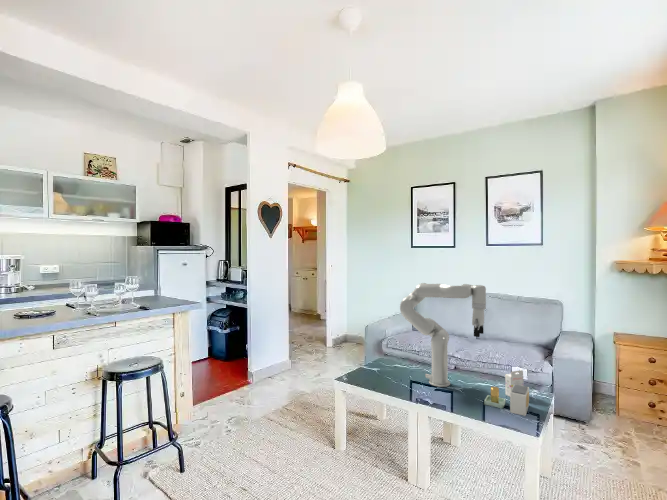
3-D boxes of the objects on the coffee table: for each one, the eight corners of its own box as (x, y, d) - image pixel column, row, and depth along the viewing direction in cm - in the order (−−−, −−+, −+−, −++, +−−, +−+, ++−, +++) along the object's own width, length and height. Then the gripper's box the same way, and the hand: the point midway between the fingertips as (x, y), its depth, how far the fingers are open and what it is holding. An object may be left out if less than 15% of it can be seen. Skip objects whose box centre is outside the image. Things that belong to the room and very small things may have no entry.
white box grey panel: (510, 412, 186) (510, 391, 186) (514, 402, 198) (514, 383, 198) (526, 416, 182) (526, 395, 182) (529, 406, 193) (529, 386, 193)
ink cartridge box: (517, 392, 211) (517, 367, 211) (523, 396, 206) (523, 370, 206) (504, 394, 209) (504, 368, 209) (511, 397, 204) (511, 371, 204)
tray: (484, 404, 195) (484, 400, 195) (487, 398, 203) (487, 395, 203) (502, 408, 190) (502, 404, 190) (505, 402, 198) (505, 398, 198)
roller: (490, 403, 196) (490, 388, 196) (491, 400, 199) (491, 385, 199) (498, 404, 194) (498, 389, 194) (499, 402, 197) (499, 387, 197)
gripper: (475, 303, 225) (475, 331, 225) (468, 307, 211) (468, 337, 211) (488, 304, 221) (488, 333, 221) (482, 308, 207) (482, 338, 207)
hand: (478, 334), depth 216 cm, fingers open, 9 cm apart
